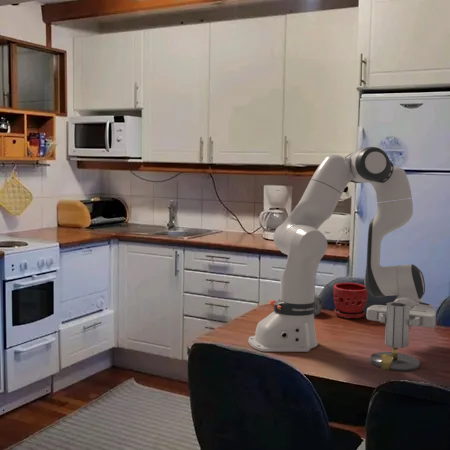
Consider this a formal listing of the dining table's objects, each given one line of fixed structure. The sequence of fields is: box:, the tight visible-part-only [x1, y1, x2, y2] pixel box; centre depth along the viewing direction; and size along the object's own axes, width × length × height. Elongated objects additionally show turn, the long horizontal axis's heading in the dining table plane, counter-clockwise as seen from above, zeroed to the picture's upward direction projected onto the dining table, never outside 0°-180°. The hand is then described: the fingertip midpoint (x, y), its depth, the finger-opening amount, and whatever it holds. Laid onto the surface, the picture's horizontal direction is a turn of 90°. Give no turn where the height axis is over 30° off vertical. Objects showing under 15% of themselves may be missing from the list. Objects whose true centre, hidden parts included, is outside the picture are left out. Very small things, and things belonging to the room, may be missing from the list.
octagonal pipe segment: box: [384, 301, 410, 349], centre depth 175 cm, size 6×6×12 cm
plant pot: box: [332, 282, 369, 319], centre depth 231 cm, size 13×13×12 cm
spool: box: [314, 293, 323, 316], centre depth 235 cm, size 14×10×10 cm
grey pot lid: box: [369, 347, 420, 372], centre depth 176 cm, size 14×14×5 cm
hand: (396, 322), depth 174 cm, fingers closed on octagonal pipe segment, 7 cm apart
